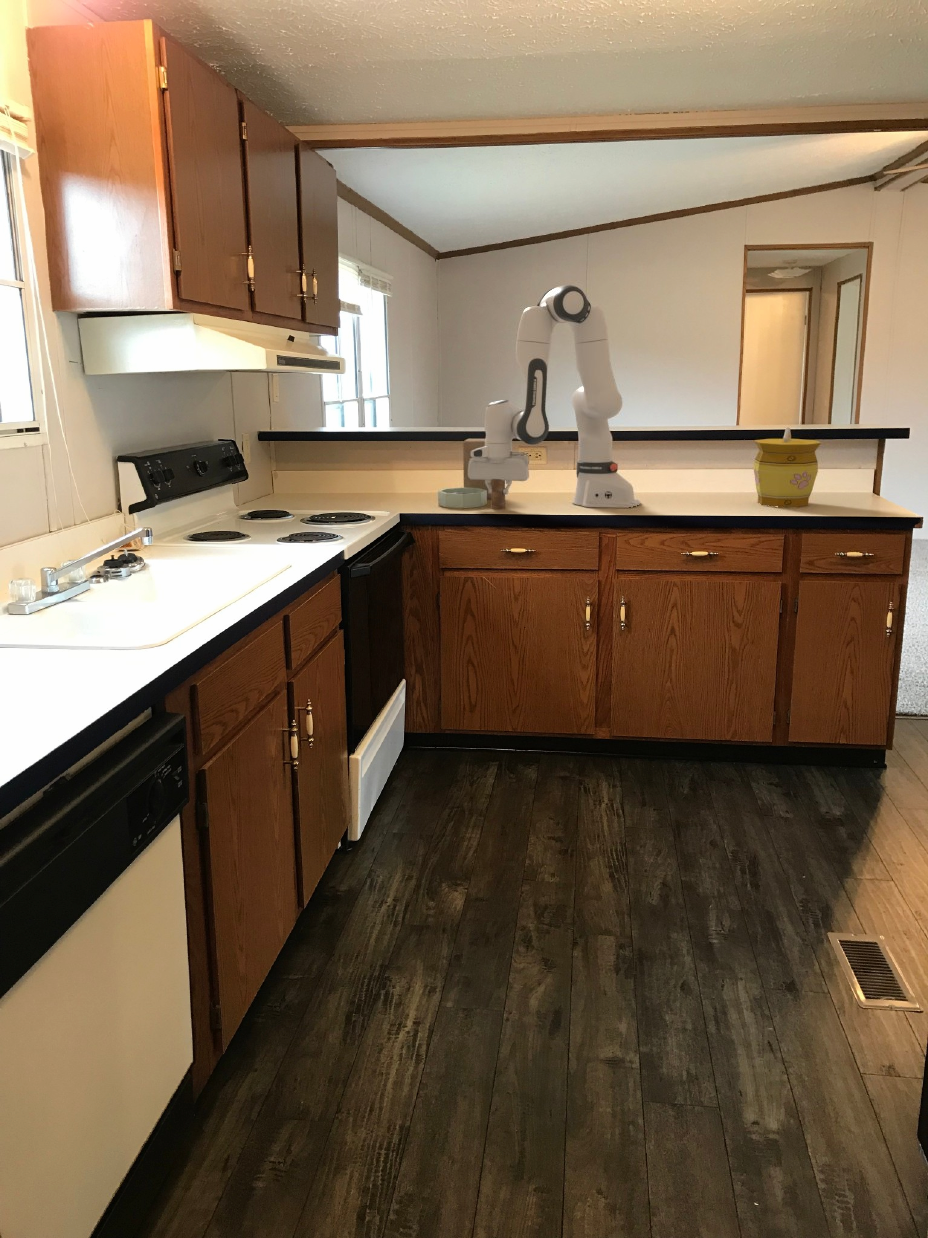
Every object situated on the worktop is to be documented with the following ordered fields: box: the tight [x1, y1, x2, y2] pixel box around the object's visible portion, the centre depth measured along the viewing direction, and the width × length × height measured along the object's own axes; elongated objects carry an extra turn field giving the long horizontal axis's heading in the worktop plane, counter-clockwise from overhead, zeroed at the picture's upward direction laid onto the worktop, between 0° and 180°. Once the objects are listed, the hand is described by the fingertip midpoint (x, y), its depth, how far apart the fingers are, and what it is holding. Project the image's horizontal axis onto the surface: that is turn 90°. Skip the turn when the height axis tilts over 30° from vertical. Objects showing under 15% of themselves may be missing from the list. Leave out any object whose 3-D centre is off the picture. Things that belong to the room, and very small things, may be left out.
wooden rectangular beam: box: [491, 479, 506, 510], centre depth 324 cm, size 4×4×12 cm
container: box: [752, 427, 822, 509], centre depth 325 cm, size 21×21×25 cm
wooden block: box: [462, 438, 492, 500], centre depth 348 cm, size 10×10×20 cm
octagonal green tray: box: [437, 486, 488, 509], centre depth 334 cm, size 15×15×5 cm
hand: (498, 493), depth 325 cm, fingers closed on wooden rectangular beam, 3 cm apart
